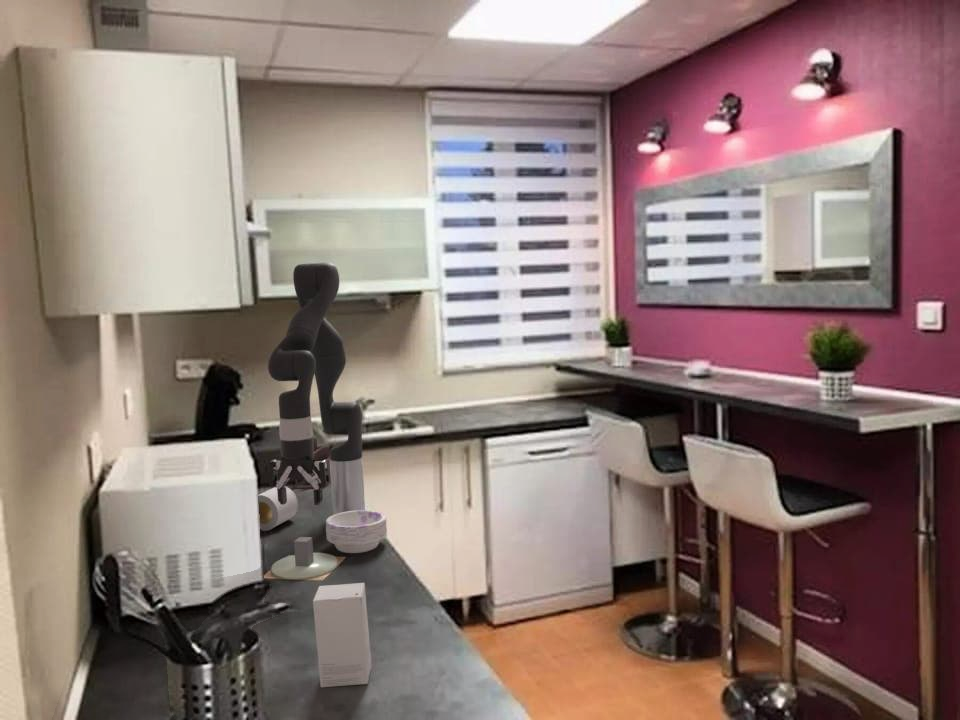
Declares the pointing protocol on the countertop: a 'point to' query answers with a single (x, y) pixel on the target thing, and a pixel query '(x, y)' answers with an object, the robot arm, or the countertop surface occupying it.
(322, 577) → the mat
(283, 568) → the lid
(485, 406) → the countertop surface
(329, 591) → the skincare box
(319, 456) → the letter holder
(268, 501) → the toilet paper
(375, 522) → the paper bowls
